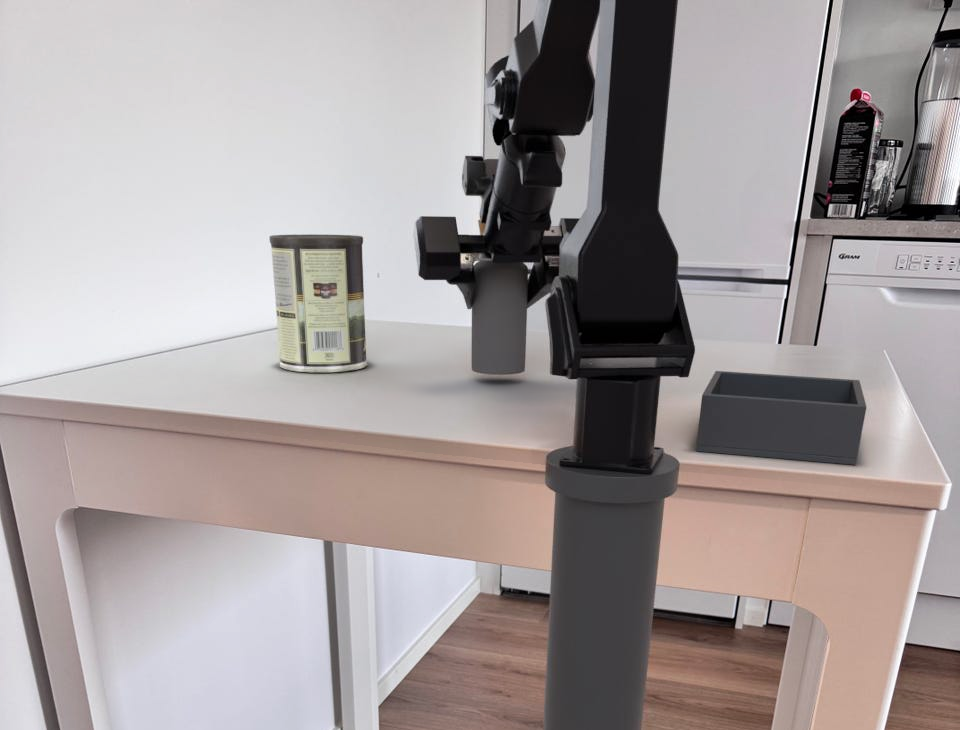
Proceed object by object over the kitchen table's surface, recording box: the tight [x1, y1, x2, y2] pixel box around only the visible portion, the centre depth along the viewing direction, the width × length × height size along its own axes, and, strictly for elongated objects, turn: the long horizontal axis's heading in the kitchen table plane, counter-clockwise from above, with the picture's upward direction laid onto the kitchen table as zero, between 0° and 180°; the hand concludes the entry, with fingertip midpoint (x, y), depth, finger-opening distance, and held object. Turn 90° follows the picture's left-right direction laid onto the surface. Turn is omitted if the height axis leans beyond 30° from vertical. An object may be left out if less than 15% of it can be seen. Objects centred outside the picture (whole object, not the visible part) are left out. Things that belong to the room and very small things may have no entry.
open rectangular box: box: [695, 370, 867, 466], centre depth 79 cm, size 12×12×4 cm
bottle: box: [471, 219, 529, 376], centre depth 100 cm, size 6×6×15 cm
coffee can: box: [269, 234, 368, 374], centre depth 108 cm, size 10×10×14 cm
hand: (496, 305), depth 101 cm, fingers closed on bottle, 6 cm apart
